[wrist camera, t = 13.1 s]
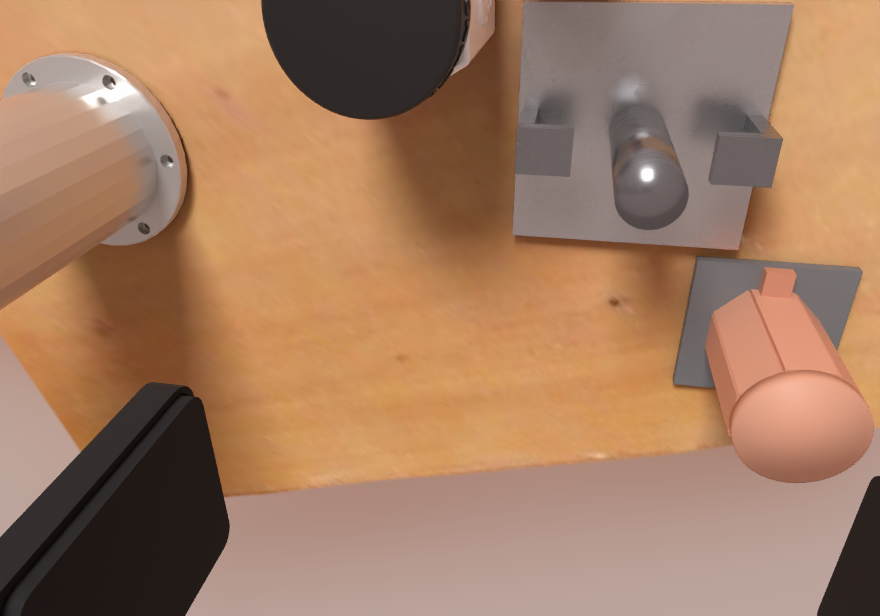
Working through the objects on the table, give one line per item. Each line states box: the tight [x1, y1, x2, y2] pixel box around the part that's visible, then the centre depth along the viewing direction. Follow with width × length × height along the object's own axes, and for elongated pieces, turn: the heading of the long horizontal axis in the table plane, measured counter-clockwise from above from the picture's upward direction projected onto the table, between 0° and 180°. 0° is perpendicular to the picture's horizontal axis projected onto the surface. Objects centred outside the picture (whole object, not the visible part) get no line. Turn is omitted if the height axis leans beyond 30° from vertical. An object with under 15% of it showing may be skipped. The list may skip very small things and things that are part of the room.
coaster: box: [673, 256, 863, 388], centre depth 42 cm, size 9×9×1 cm
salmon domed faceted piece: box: [705, 267, 874, 483], centre depth 38 cm, size 9×6×10 cm
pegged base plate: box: [513, 0, 794, 250], centre depth 34 cm, size 13×13×11 cm
